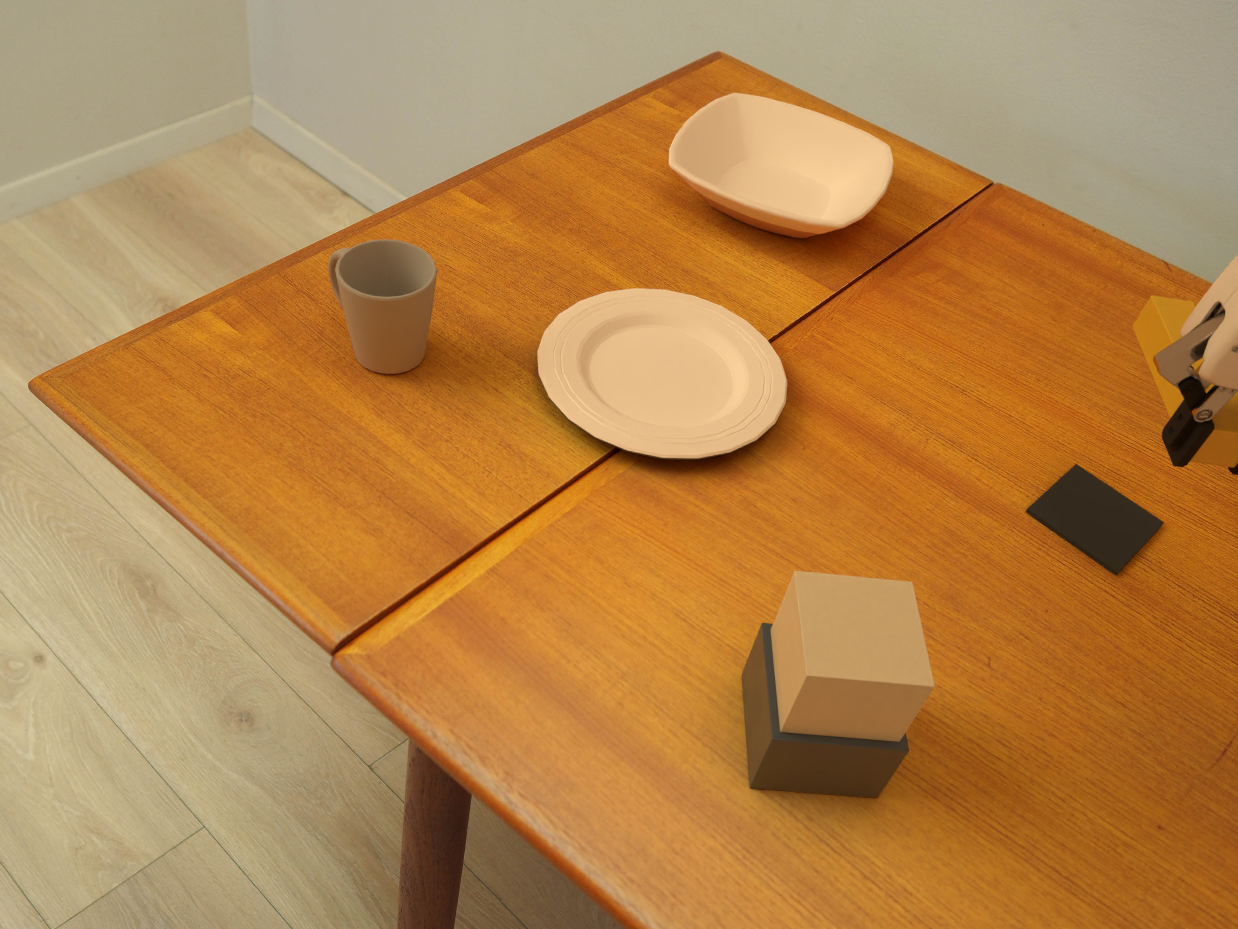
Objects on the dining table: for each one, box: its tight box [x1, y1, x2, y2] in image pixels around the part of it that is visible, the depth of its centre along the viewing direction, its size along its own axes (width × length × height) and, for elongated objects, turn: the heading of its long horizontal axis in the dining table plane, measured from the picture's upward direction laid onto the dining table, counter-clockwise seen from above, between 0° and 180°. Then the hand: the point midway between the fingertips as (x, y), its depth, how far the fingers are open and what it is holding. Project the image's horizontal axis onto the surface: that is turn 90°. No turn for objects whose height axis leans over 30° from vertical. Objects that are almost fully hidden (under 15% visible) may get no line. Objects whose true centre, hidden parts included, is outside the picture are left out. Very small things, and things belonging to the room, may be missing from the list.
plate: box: [536, 287, 788, 461], centre depth 87 cm, size 21×21×2 cm
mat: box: [1025, 463, 1165, 576], centre depth 83 cm, size 8×8×1 cm
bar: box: [1131, 294, 1238, 468], centre depth 73 cm, size 14×3×3 cm, turn 176°
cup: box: [327, 238, 438, 375], centre depth 83 cm, size 8×10×8 cm
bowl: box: [668, 92, 895, 239], centre depth 108 cm, size 22×22×5 cm
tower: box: [741, 570, 936, 799], centre depth 62 cm, size 8×8×12 cm
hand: (1201, 454), depth 70 cm, fingers closed on bar, 3 cm apart
